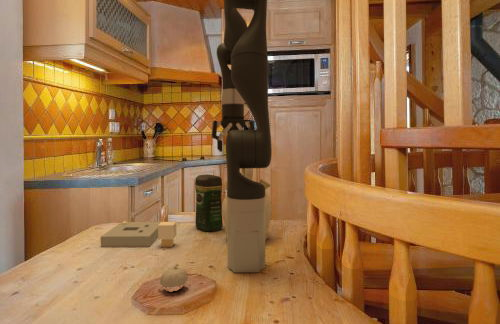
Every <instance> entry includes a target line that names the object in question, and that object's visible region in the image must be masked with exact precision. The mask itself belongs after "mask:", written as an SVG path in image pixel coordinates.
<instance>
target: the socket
mask: <svg viewBox="0 0 500 324" xmlns="http://www.w3.org/2000/svg"><path fill="white" fill-rule="evenodd" d="M161 222H162V221H144V222H143V221H131V222H129V221H122V222H120V223H118V224H117V225H115V226H114V227H112V228H110V229H109V230H108V231H107V232H105V233H104V234H102V235H101V236H100V247H101V248H107V247H108V248H109V247H110V248H114V247H117V248H118V247H119V248H120V247H121V248H126V247H127V248H128V247H129V248H131V247H132V248H136V247H138V248H139V247H141V248H144V247H147V248H149V247H151V246H152V245H153V244H154V243H155V241H156V240H157V239H158V225H159V224H160V223H161Z"/></svg>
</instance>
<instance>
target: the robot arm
mask: <svg viewBox="0 0 500 324" xmlns="http://www.w3.org/2000/svg"><path fill="white" fill-rule="evenodd" d="M238 9H239V10H252V11H253V16H252V17H251V20H250V22H249V24H247V21H246V20H245V17H243V16H242V14H241V13H240V11H239V10H238ZM223 10H224V11H223V12H224V15H223V16H224V22H225V23H224V24H225V25H224V26H225V27H224V34H223V35H224V36H223V42H222V43H220V44H219V45H218V46H217V48H216V57H217V62H218V65H219V67H220V71H221V81H222V83H221V84H222V85H221V88H222V90H221V91H222V92H221V100H220V103H221V120H220V121H219V120H213V121H212V122H211V123H212V124H211V138H212V139H213V140H216V141H217V143H216V147H217V151H218V152H220V153H222V152H223V140H222V139H223V138H224V137H225V136H226V137H225V158H226V176H227V177H226V179H227V180H226V181H227V190H226V195H227V234H226V238H227V239H226V240H227V246H226V247H227V268H228V269H229V270H231V271H232V272H233V273H260V271H261V270H263V269H265V267H266V240H265V192H266V190H265V186H264V185H263V184H261V183H259V182H258V181H256V180H255V181H254V180H253V179H252V180H250V179H248V178H246V177H244V176H243V175H242V174H241V170H242V168H253V169H266V168H268V167H269V166H270V165H271V161H272V154H273V153H272V136H271V125H270V116H269V115H270V113H269V57H268V39H267V10H268V0H223ZM229 66H230V68H229ZM245 104H246V106H247V107H248V108H249V111H250V113H251V115H252V117H253V119H254V121H253V120H250V121H248V120H247V121H245ZM254 123H255V126H256V129H255V128H254V127H255V126H254ZM219 126H221V127H222V130H221V131H220V133H219V135H218V131H217V129H218V128H220V127H219ZM245 126H246V128H248V129H244V128H245Z"/></svg>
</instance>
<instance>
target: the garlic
mask: <svg viewBox="0 0 500 324" xmlns="http://www.w3.org/2000/svg"><path fill="white" fill-rule="evenodd" d="M178 267H179V264H178V263H175V265H174V266H173V267H171V268H168V269H166V270H165V271H164V272H163V273H162V275H161V276H160V280H159V282H160V283H159V284H160V286H161V285H163V287H165V288H167V287H175V286H181V285H184V284H185V283H186V284H187V282H188V278H189V275H188V271H187V270H185V269H183V268H178ZM186 281H187V282H186ZM186 284H185V285H186ZM163 287H162V288H163Z"/></svg>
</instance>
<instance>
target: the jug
mask: <svg viewBox="0 0 500 324" xmlns="http://www.w3.org/2000/svg"><path fill="white" fill-rule="evenodd" d="M240 173H241V174H242V175H243V176H244V177H246V178H248V179H250V180H252V181H253V176H254V168H241V169H240ZM224 183H225V190H226V191H227V180H226V181H225V182H224ZM258 183H261V184H263V185H264V186H265V241H267V238H268V234H269V228H270V224H271V219H272V211H273V209H272V208H273V207H272V201H271V198H270V196H269V195H268V193H267V192H266V190H267V189H268V188H269V187H271V184H270V183H269V182H267V180H264V179H263V178H260V179H259V182H258ZM222 221H223V226H224V230H225V233H226V235H227V194H226V195H225V197H224V199H223V201H222Z"/></svg>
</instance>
